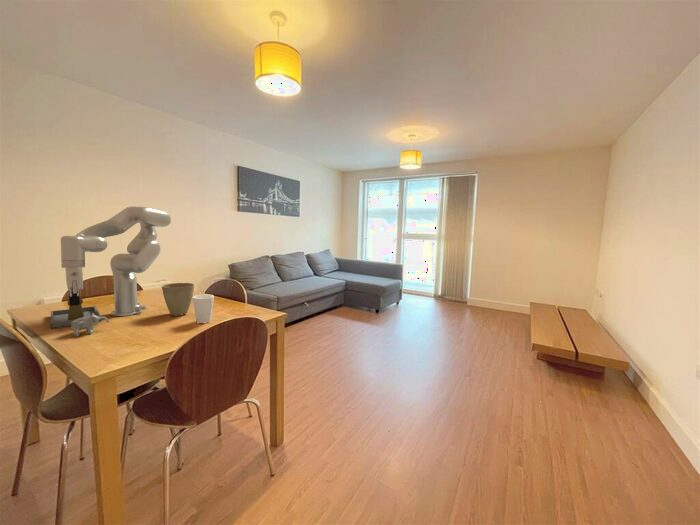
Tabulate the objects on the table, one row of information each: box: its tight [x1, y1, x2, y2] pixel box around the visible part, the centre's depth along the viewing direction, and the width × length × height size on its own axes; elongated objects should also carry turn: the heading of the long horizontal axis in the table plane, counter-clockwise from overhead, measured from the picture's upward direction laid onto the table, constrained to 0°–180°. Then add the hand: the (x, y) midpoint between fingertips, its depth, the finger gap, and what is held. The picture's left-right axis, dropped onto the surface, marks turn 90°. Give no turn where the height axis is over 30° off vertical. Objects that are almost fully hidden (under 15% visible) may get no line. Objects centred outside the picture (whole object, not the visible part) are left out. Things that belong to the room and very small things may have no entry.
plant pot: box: [161, 282, 195, 316], centre depth 154 cm, size 15×15×16 cm
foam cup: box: [192, 293, 215, 324], centre depth 144 cm, size 10×9×13 cm
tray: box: [50, 305, 102, 330], centre depth 139 cm, size 24×17×2 cm
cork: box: [67, 297, 84, 320], centre depth 135 cm, size 6×6×11 cm
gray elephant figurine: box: [70, 313, 110, 338], centre depth 124 cm, size 9×12×8 cm
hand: (74, 304), depth 127 cm, fingers closed
